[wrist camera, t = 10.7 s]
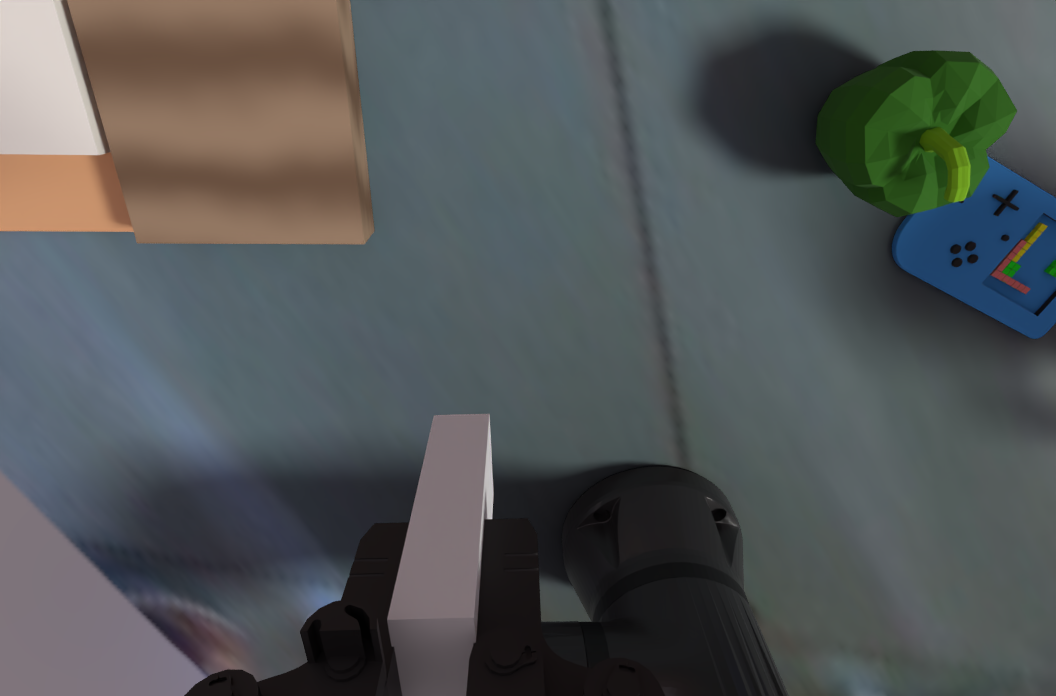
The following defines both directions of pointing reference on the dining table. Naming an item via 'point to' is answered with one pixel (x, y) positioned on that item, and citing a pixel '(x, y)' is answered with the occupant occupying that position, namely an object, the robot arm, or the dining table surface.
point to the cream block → (45, 83)
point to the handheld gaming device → (989, 250)
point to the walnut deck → (231, 118)
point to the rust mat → (61, 194)
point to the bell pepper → (914, 130)
